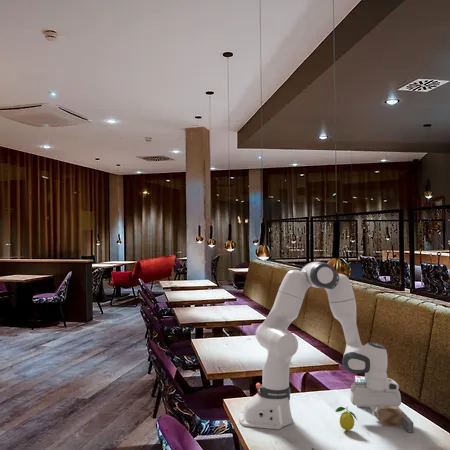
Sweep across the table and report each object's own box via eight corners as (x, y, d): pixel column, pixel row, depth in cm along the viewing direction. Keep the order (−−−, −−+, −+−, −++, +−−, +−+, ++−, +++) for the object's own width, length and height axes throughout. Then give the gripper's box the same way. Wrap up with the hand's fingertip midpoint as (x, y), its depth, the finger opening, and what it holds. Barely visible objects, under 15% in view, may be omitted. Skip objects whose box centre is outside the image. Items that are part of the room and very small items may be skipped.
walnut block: (382, 426, 180) (382, 413, 180) (374, 415, 190) (374, 403, 190) (402, 426, 180) (402, 414, 180) (393, 415, 190) (393, 404, 190)
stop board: (408, 432, 174) (408, 422, 174) (388, 409, 196) (388, 400, 196) (413, 432, 174) (413, 422, 174) (392, 409, 196) (392, 400, 196)
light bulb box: (372, 408, 197) (372, 384, 198) (356, 407, 199) (356, 383, 199) (369, 399, 208) (369, 376, 208) (354, 398, 209) (354, 375, 209)
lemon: (335, 428, 178) (335, 403, 178) (347, 426, 180) (347, 401, 180) (345, 436, 171) (345, 410, 171) (357, 433, 173) (358, 408, 173)
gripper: (352, 384, 182) (352, 418, 182) (402, 385, 182) (402, 419, 182) (348, 379, 189) (348, 411, 189) (397, 380, 188) (396, 412, 188)
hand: (375, 415), depth 185 cm, fingers closed
